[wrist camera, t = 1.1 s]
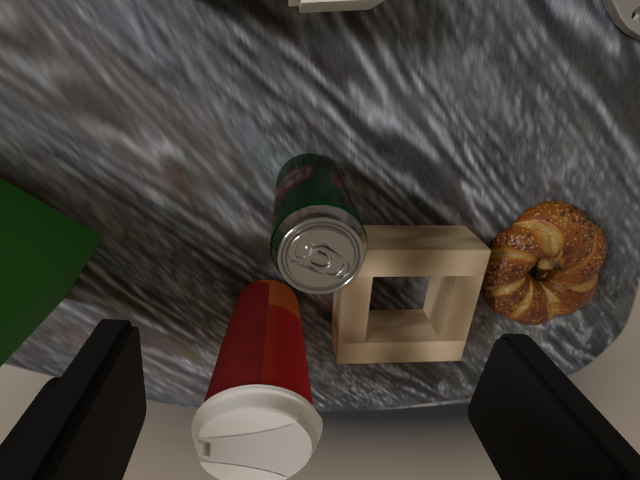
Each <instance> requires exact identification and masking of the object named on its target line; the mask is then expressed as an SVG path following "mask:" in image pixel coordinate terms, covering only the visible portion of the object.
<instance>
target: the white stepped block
mask: <svg viewBox="0 0 640 480" xmlns="http://www.w3.org/2000/svg"><path fill="white" fill-rule="evenodd" d="M383 1H384V0H288V7H292V6H299V13H312V12H332V11H352V10H370V9H371V8H373V7H375V6H376V5H378V4H380V3H381V2H383Z"/></svg>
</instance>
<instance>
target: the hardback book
mask: <svg viewBox="0 0 640 480" xmlns="http://www.w3.org/2000/svg"><path fill="white" fill-rule="evenodd" d="M103 237H104V236H102V235H100V234H98V233H97V232H95V231H93V230H91V229H89V228H88V227H86V226H84V225H82V224H81V223H79V222H77V221H75V220H73V219H72V218H70V217H68V216H66V215H65V214H63V213H61V212H59V211H57V210H56V209H54V208H52V207H50V206H49V205H47V204H45V203H43V202H41V201H40V200H38V199H36V198H34V197H33V196H31V195H29V194H27V193H25V192H24V191H22V190H20V189H18V188H17V187H15V186H13V185H11V184H9V183H8V182H6V181H4V180H2V179H1V178H0V366H2V364H3V363H4V362H5V361H6V360H7V359H8V358H9V357H10V356H11V355H12V354H13V353H14V352H15V351H16V350H17V348H18V347H19V346H20V345H21V344H22V343H23V342H24V341H25V340H26V339H27V338H28V337H29V336H30V335H31V333H32V332H33V331H34V330H35V329H36V328H37V327H38V326H39V325H40V324H41V323H42V322H43V321H44V320H45V319H46V317H47V316H48V315H49V314H50V313H51V312H52V311H53V310H54V309H55V308H56V307H57V306H58V305H59V304H60V302H61V301H62V300H63V299H64V298H65V297H66V295H67V294H68V292H69V290H70V289H71V287H72V286H73V284H74V283H75V281H76V279H77V278H78V276H79V275H80V273H81V271H82V270H83V268H84V267H85V265H86V264H87V262H88V260H89V259H90V257H91V256H92V254H93V253H94V251H95V249H96V248H97V246H98V245H99V243H100V241H101V240H102V238H103Z"/></svg>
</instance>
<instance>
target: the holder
mask: <svg viewBox="0 0 640 480" xmlns="http://www.w3.org/2000/svg"><path fill="white" fill-rule="evenodd" d="M363 227H364V229H365V232H366V236H367V243H368V246H367V253H366V257H365V259H364V262H363V265H362V268H361V270H360V272H359V274H358V275H357V276H356V278H355V279H354V280H353V281H352V282H351V283H350V284H349V285H347V286H346V287H344V288H343V289H341V290H338V291H336V292H334V293H333V308H332V323H331V332H332V339H333V345H334V351H335V358H336V364H361V363H397V362H432V361H461V357H462V354H463V350H464V347H465V343H466V339H467V336H468V332H469V329H470V325H471V321H472V318H473V314H474V311H475V307H476V303H477V300H478V296H479V293H480V289H481V285H482V282H483V278H484V275H485V271H486V267H487V264H488V260H489V257H490V253H491V249H489V248H488V247H487V246H486V245H485V244H484V243H483V242H482V241H481V240H480V239H479V238H478V237H477V236H476V235H475V234H474V233H473V232H472V231H471V230H469V229H468V228H467V227H466V226H445V225H363ZM403 276H430V277H429V282H428V287H427V292H426V297H425V302H424V307H423V309H391V310H369V305H370V297H371V289H372V280H373V277H403Z"/></svg>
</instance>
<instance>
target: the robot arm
mask: <svg viewBox="0 0 640 480" xmlns="http://www.w3.org/2000/svg"><path fill="white" fill-rule="evenodd" d="M603 3H604V6H605V9H606V11H607V13H608V14H609V16H610V17H611V19H612V21H613V22H614V24H615V25H616V26H617V27H618V28H620V29H621V30H622V31H623V32H624V33H625V34H626V35H629V36H631V37H633V38H635V39H637V40H639V41H640V0H603ZM145 416H146V396H145V386H144V376H143V366H142V355H141V345H140V335H139V329H138V327H132V326H131V322H130V321H129V320H111V319H103V320H101V321H100V322H99V323H98V325H97V326H96V328H95V329H94V331H93V332H92V334H91V335H90V336H89V338H88V339H87V341H86V342H85V344H84V345H83V346H82V348H81V349H80V351H79V352H78V354H77V355H76V357H75V358H74V359H73V361H72V362H71V364H70V365H69V367H68V368H67V369H66V371H65V372H64V374H63V375H62V377H54V378H52V379H51V380H49V381H48V382H47V383H46V384H45V385H44V386H43V388H42V389H41V390H40V392H39V393H38V395H37V396H36V397H35V399H34V400H33V401H32V403H31V404H30V406H29V407H28V408H27V410H26V411H25V412H24V414H23V415H22V416H21V418H20V419H19V421H18V422H17V424H16V425H15V426H14V427H13V429H12V430H11V431H10V433H9V434H8V436H7V437H6V439H5V440H4V441H3V442H2V444H1V445H0V480H122V479H123V476H124V473H125V471H126V468H127V466H128V463H129V460H130V458H131V455H132V452H133V450H134V447H135V444H136V442H137V439H138V436H139V434H140V431H141V428H142V426H143V423H144V420H145ZM468 417H469V420H470V423H471V424H472V426H473V428H474V430H475V432H476V434H477V435H478V437H479V439H480V441H481V442H482V445H483V446H484V448H485V450H486V452H487V454H488V456H489V457H490V459H491V461H492V463H493V465H494V467H495V469H496V471H497V473H498V474H499V476H500V478H501V480H640V455H639V454H638V453H637V452H636V451H635V450H634V449H633V447H632V446H631V445H630V444H629V443H628V442H627V441H626V440H625V439H624V438H623V437H622V436H621V435H620V433H619V432H618V431H617V430H616V429H615V428H614V427H613V426H612V425H611V424H610V423H609V422H608V421H607V420H606V418H605V417H604V416H603V415H602V414H601V413H600V412H599V411H598V410H597V409H596V408H595V407H594V406H593V404H592V403H591V402H590V401H589V400H588V399H587V398H586V397H585V396H584V395H583V394H582V393H581V391H579V389H578V388H577V387H576V386H575V385H574V384H573V383H572V382H571V381H570V380H569V379H568V378H567V376H566V375H565V374H564V373H563V372H562V371H561V370H560V369H559V368H558V367H557V366H556V365H555V363H554V362H553V361H552V360H551V359H550V358H549V357H548V356H547V355H546V354H545V353H544V352H543V351H542V349H541V348H540V347H539V346H538V345H537V344H536V343H535V342H534V341H533V340H532V339H531V338H530V337H529V336H528V335H525V334H503V335H502V336H501V337H500V339H497V340H496V342H495V343H494V346H493V348H492V351H491V353H490V355H489V358H488V360H487V363H486V365H485V368H484V370H483V372H482V375H481V377H480V380H479V382H478V384H477V387H476V389H475V392H474V394H473V397H472V399H471V401H470V404H469V406H468Z"/></svg>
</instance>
